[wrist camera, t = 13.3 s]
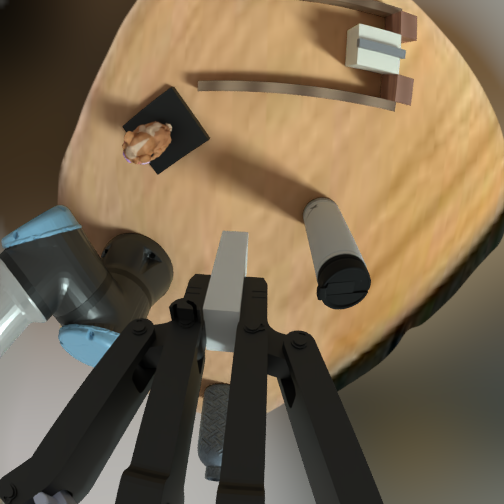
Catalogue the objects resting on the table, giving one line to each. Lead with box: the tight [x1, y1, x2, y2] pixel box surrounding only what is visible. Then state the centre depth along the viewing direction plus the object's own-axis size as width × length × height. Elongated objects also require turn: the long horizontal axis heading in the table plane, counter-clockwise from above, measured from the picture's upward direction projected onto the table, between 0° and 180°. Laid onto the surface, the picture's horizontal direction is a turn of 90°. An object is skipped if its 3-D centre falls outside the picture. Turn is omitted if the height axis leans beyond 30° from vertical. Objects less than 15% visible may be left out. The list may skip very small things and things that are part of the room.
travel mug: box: [303, 198, 371, 309], centre depth 40 cm, size 6×7×20 cm
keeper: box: [345, 24, 406, 74], centre depth 30 cm, size 6×6×7 cm
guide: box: [198, 0, 417, 111], centre depth 31 cm, size 29×17×6 cm, turn 87°
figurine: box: [122, 87, 210, 175], centre depth 37 cm, size 10×10×12 cm
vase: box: [198, 384, 230, 481], centre depth 69 cm, size 12×12×28 cm
